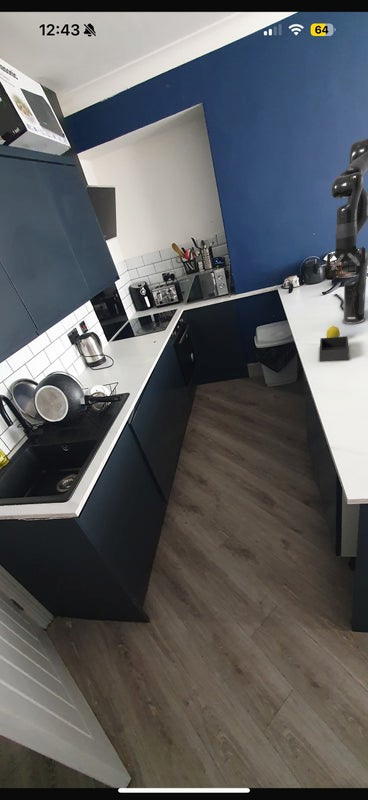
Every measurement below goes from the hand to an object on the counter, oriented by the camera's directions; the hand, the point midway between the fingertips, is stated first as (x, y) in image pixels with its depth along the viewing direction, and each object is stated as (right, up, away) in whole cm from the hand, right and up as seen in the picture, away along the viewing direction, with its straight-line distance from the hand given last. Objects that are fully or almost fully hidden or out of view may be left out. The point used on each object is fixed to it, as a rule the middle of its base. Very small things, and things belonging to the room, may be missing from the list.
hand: (345, 276), depth 131 cm
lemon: (+1, -26, +13) cm, 29 cm away
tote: (-3, -32, +4) cm, 33 cm away
